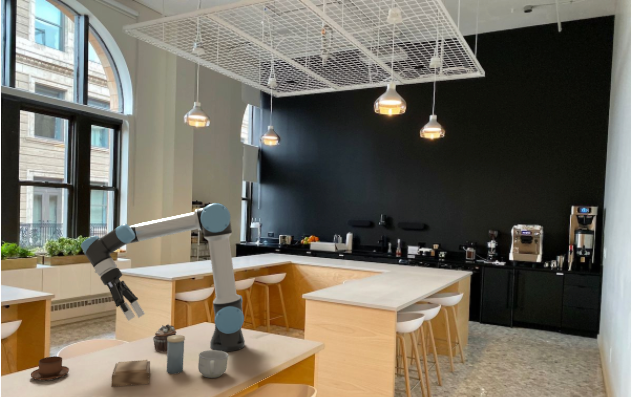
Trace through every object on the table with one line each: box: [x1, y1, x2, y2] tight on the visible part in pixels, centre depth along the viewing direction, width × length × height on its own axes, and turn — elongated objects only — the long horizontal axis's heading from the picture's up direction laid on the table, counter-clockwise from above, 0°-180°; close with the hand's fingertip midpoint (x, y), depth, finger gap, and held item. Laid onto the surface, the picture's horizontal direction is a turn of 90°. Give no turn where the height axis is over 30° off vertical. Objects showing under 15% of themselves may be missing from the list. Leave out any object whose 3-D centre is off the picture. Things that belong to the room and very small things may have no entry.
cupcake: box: [152, 323, 177, 352], centre depth 201 cm, size 10×10×10 cm
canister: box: [166, 334, 186, 375], centre depth 175 cm, size 6×6×13 cm
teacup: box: [197, 349, 229, 379], centre depth 170 cm, size 14×11×8 cm
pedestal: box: [110, 359, 151, 388], centre depth 166 cm, size 12×12×5 cm
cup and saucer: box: [30, 355, 70, 381], centre depth 166 cm, size 12×12×6 cm
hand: (137, 317), depth 181 cm, fingers open, 13 cm apart
